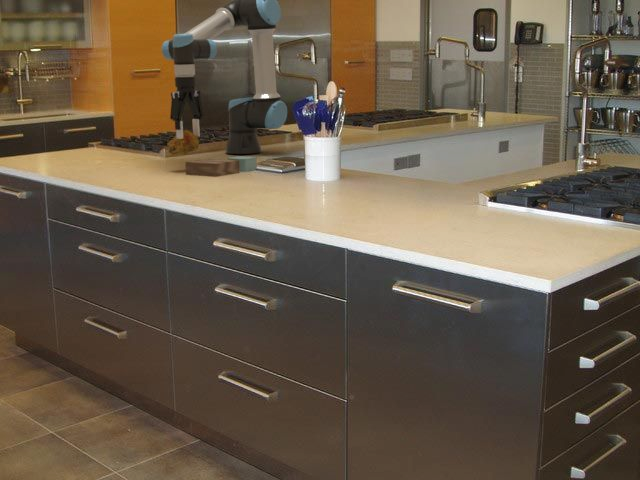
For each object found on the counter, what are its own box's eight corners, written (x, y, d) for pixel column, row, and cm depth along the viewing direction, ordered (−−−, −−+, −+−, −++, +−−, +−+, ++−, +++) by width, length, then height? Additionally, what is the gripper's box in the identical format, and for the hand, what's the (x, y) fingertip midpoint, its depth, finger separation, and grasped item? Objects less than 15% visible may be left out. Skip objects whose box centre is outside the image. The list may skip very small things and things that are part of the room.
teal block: (239, 169, 345) (238, 156, 344) (256, 170, 341) (256, 157, 340) (227, 171, 338) (227, 158, 337) (245, 172, 334) (245, 158, 333)
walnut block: (210, 171, 338) (209, 158, 337) (239, 173, 331) (239, 160, 330) (186, 175, 327) (185, 162, 326) (215, 177, 319) (215, 163, 318)
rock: (191, 164, 333) (169, 150, 329) (184, 165, 341) (161, 152, 336) (204, 138, 336) (182, 124, 331) (196, 139, 343) (174, 126, 338)
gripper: (196, 75, 341) (199, 134, 345) (157, 77, 324) (161, 139, 328) (211, 75, 337) (214, 135, 341) (172, 77, 319) (176, 140, 324)
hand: (188, 137), depth 335 cm, fingers closed on rock, 8 cm apart
